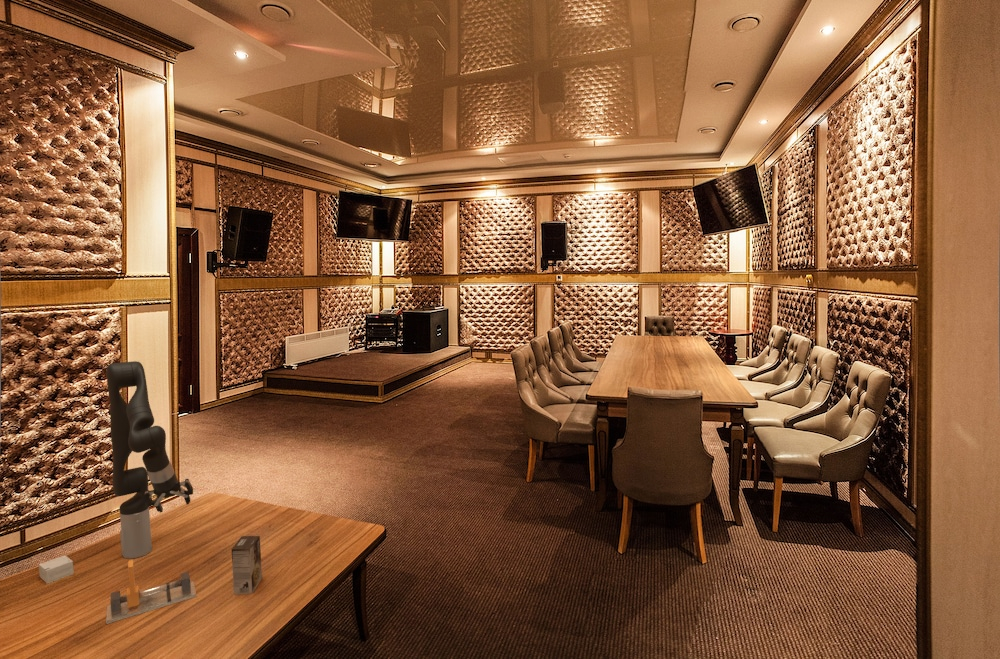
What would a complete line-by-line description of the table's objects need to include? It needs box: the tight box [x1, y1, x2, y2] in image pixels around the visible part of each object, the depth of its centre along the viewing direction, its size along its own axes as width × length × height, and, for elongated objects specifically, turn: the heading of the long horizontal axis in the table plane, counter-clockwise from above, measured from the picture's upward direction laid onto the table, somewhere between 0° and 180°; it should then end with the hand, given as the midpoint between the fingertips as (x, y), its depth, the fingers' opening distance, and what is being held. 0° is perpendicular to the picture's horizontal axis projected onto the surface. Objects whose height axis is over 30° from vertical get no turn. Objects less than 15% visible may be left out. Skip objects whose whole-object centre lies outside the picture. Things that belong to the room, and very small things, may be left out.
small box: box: [38, 554, 75, 585], centre depth 187 cm, size 8×8×5 cm
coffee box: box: [231, 535, 263, 595], centre depth 180 cm, size 9×6×16 cm
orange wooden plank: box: [126, 559, 139, 608], centre depth 168 cm, size 3×5×13 cm, turn 35°
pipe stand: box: [105, 570, 197, 625], centre depth 171 cm, size 24×9×6 cm, turn 125°
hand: (174, 506), depth 193 cm, fingers open, 8 cm apart
